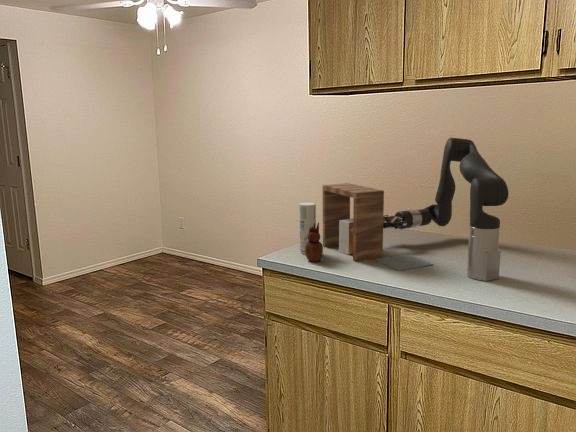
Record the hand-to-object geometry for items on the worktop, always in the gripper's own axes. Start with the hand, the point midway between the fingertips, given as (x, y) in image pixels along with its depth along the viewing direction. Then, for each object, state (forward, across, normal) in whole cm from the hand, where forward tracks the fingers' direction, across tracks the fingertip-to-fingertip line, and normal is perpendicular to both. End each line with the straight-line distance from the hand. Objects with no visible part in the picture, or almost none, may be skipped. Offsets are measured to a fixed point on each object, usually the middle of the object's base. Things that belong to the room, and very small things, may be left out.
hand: (376, 223), depth 201 cm
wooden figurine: (+31, +4, +10) cm, 33 cm away
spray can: (+28, -6, +10) cm, 31 cm away
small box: (+12, 0, +10) cm, 16 cm away
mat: (+3, +22, +10) cm, 25 cm away
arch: (+12, 0, +10) cm, 16 cm away
